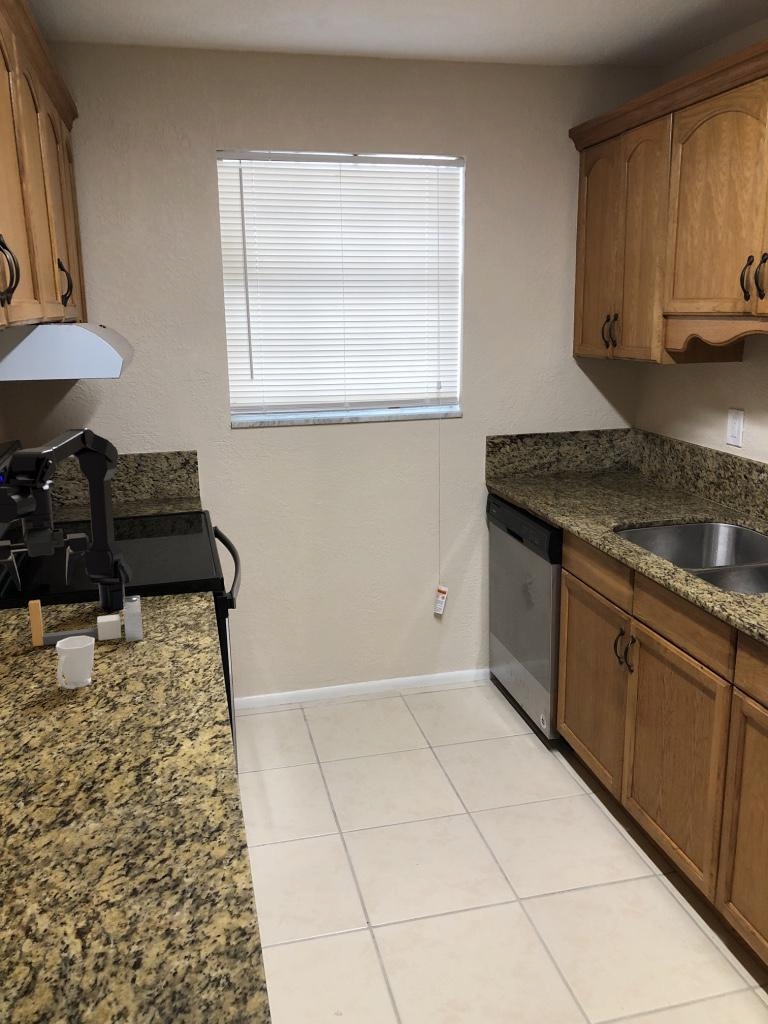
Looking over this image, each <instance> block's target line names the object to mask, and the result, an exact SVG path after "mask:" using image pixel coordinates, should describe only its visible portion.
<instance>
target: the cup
mask: <svg viewBox="0 0 768 1024" xmlns="http://www.w3.org/2000/svg"><path fill="white" fill-rule="evenodd" d="M95 640H96V639H95V638H92V637H88V636H75V637H69V638H66V639H63V640H61V641H58V642H57V644H55V648H56V653H57V656H58V663H57V671H56V673H57V681H58V684H59V686H61V687H62V688H65V689H67V690H74V689H76V688H84V687H86V686H88V685H91V683H92V678H91V677H92V671H93V666H94V655H95V654H94V652H95ZM63 676H64V677H63ZM63 678H64V679H65V680H66V681H67V684H66V683H65V682H64V679H63Z"/></svg>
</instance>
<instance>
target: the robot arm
mask: <svg viewBox="0 0 768 1024" xmlns="http://www.w3.org/2000/svg"><path fill="white" fill-rule="evenodd" d="M71 456H73V457H74V458H75V459H76V460H77V461H78V466H79V470H80V472H81V473H82V474H83V476H84V478H85V479H86V480H87V483H88V497H89V512H90V513H89V514H90V525H91V526H90V527H91V539H92V543H91V544H90V539H89V537H88V535H87V534H86V533H84V532H82V533H81V532H80V533H79V532H78V533H70V534H69V533H68V534H66V537H67V538H64V532H63V528H54V522H53V509H52V500H51V499H52V498H51V489H52V488H55V486H56V484H55V483H54V481H52V480H50V478H51V477H52V476H53V475H54V473H56V472H57V471H58V464H60V463H61V462H63V461H65V460H66V459H69V458H70V457H71ZM118 459H119V451H118V449H117V446H115V445H114V444H113V443H112V441H110V440H108V439H107V438H106V437H105V438H104V437H103V436H100V435H98V434H96V433H94V432H93V431H92V429H89V428H85V427H71V428H69V429H66V431H65V432H63V433H62V434H60V435H59V436H56V437H55V438H53V439H52V440H50V441H48V442H46V443H45V444H42V445H41V446H38V447H31V448H25V449H21V450H16V451H15V452H14V453H12V455H11V459H10V460H9V464H8V466H7V468H6V472H5V476H4V477H3V478H4V479H3V481H2V484H1V487H0V523H3V524H8V523H12V522H15V521H19V520H21V523H22V533H23V535H22V536H23V543H22V542H21V543H15V544H14V543H13V544H11V540H10V539H9V540H0V565H3V566H4V567H5V568H6V570H8V572H9V574H10V576H11V579H12V580H13V582H14V584H15V586H16V588H17V590H18V591H21V590H22V589H21V581H20V577H19V573H18V572H19V571H18V568H17V565H16V560H15V555H14V554H23V553H24V554H25V553H27V555H28V557H29V558H30V557H31V558H36V557H38V556H51V555H54V554H55V550H61V549H66V556H65V557H66V559H65V561H66V563H65V565H66V566H65V579H66V580H65V581H66V585H67V586H68V585H70V583H71V579H72V574H73V571H74V566H75V564H76V562H77V559H78V558H79V557H80V556H83V557H84V569H85V572H86V575H87V578H88V581H89V584H92V585H93V584H98V592H99V602H97V603H95V607H97V608H98V609H100V610H101V611H102V612H106V613H107V612H111V611H116V610H121V609H124V597H126V594H125V584H130V583H131V581H132V580H133V570H132V569H131V567H129V565H128V564H127V563H126V562H125V560H124V559H125V558H124V555H123V554H124V552H123V550H122V549H121V547H120V546H119V544H118V543H117V541H116V539H115V526H114V512H113V497H112V495H113V494H112V482H111V481H112V480H111V479H112V478H113V476H114V474H115V472H116V470H118V469H117V468H118Z"/></svg>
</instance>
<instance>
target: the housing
mask: <svg viewBox="0 0 768 1024" xmlns="http://www.w3.org/2000/svg"><path fill="white" fill-rule="evenodd" d="M142 619H143V618H142V606H141V596H140V595H131V596H125V597H124V608H123V621H124V622H123V623H124V632H125V642H127V643H129V642H135V641H143V640H144V631H143V621H142Z"/></svg>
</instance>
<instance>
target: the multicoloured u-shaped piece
mask: <svg viewBox="0 0 768 1024" xmlns="http://www.w3.org/2000/svg"><path fill="white" fill-rule="evenodd" d="M28 611H29V612H28V613H29V619H30V629H31V630H30V631H31V639H32V647H39V646H40V647H41V646H50V645H57V642H58V641H61V640H63V639H66V638H69V637H75V636H88V637H92V638H95V640H98V641H105V640H114V639H122V628H121V627H122V626H121V616H120V614H119V613H118V614H112V615H111V614H109V615H101V616H97V621H96V624H97V627H92V628H84V629H75V630H67V631H66V630H64V631H57V632H55V631H54V632H49V633H44V626H43V616H42V615H43V614H42V607H41V600H40V599H36V600H29V602H28Z"/></svg>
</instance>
